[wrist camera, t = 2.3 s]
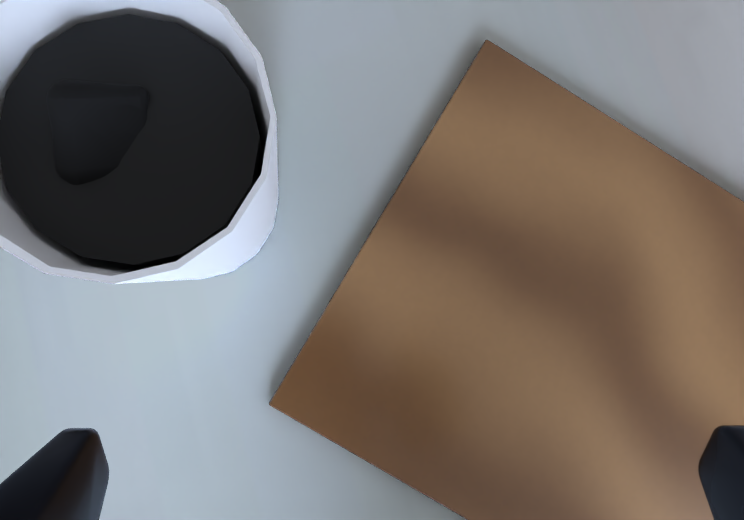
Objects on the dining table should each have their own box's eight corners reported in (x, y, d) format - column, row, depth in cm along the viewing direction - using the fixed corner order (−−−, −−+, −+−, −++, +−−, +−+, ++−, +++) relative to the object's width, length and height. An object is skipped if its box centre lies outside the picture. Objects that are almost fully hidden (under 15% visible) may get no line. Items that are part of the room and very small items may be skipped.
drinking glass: (105, 295, 22) (-68, 291, 12) (102, 111, 22) (-68, -44, 12) (293, 287, 22) (282, 277, 12) (287, 109, 23) (271, -39, 13)
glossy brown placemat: (723, 665, 23) (730, 672, 23) (269, 402, 22) (268, 404, 21) (895, 303, 25) (905, 303, 24) (483, 42, 24) (486, 38, 23)
